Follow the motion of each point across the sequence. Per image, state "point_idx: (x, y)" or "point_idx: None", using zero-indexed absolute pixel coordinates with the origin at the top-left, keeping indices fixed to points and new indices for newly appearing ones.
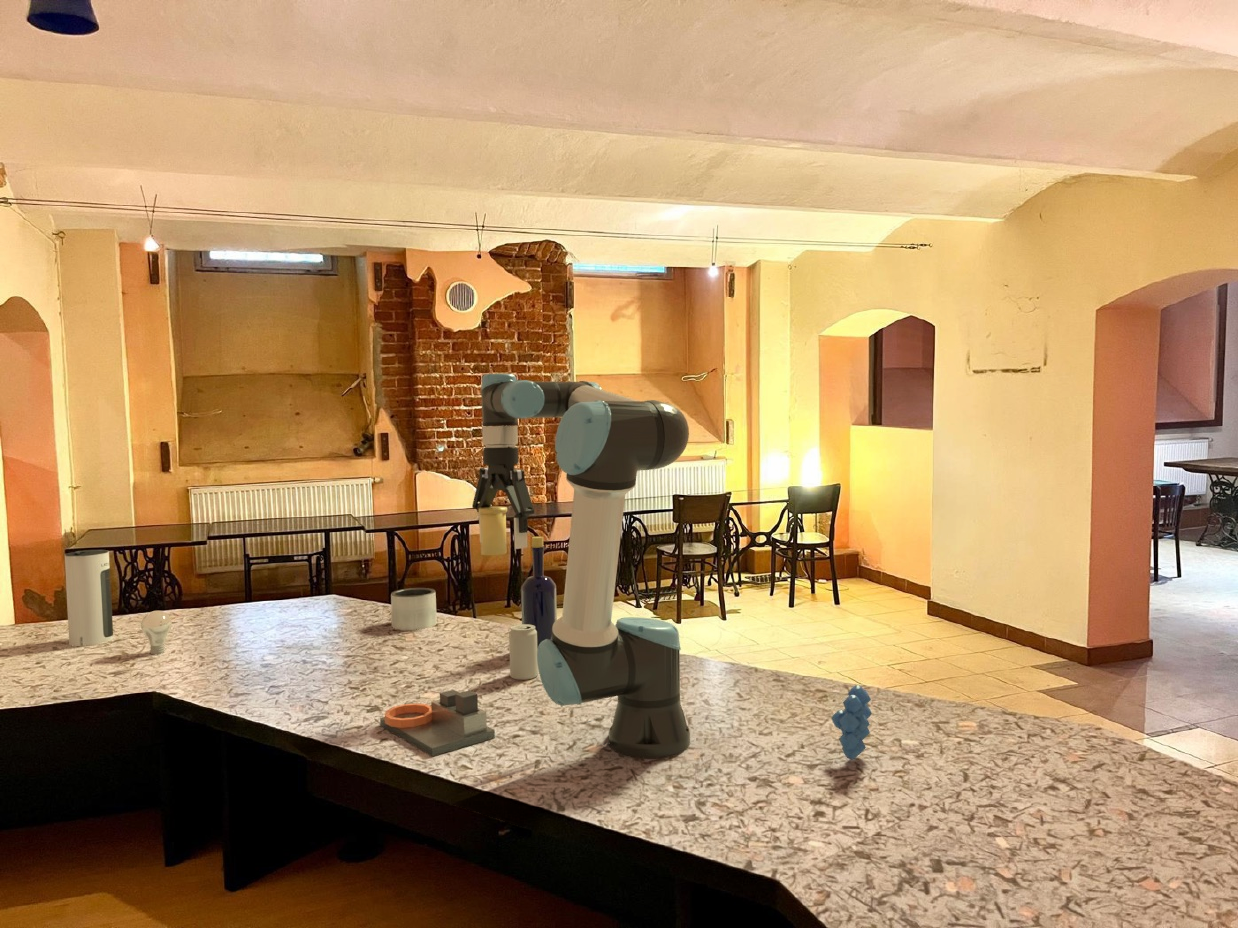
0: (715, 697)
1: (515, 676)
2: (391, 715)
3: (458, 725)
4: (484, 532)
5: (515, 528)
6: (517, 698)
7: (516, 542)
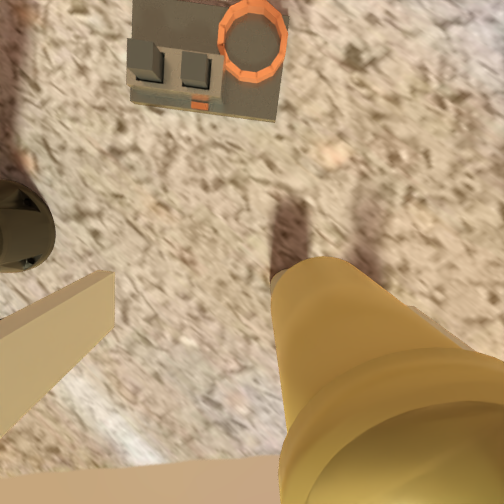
0: None
1: (286, 269)
2: (277, 27)
3: None
4: (351, 290)
5: (26, 312)
6: (230, 223)
7: (80, 280)
